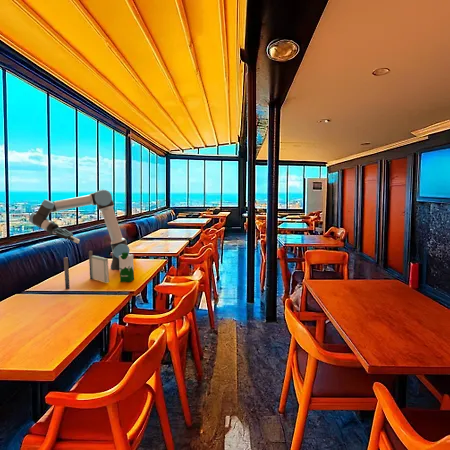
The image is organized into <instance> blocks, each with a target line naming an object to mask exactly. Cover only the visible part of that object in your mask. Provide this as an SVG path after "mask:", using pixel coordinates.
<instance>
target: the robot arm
mask: <svg viewBox="0 0 450 450" xmlns="http://www.w3.org/2000/svg"><path fill="white" fill-rule="evenodd" d="M91 205H92V206H97V209H98V210H99V211H101V213H102V217H103V220H104V223H105V226H106V229H107V232H108V234H109V238H110V240H111V242H110V246H111V251H112V255H111V256H112V260H111V263H110V269H111V270H115V271H117V270H118V271H120V267H119V256H120V255H122V253H123V252H128V254H130V247H129V246H128V242H127V239H126V238H124V237H123V235H122V234H123V233H122V231H121V228H120V226H119V222H118V219H117V216H116V213H115V210H114V206H115V204H114V200H113V196H112V193H111V192H110V191H109V190H107V189H104V188H103V189H99V190H97V191H95V192H91V193H90V194H87V195H81V196H76V197H71V198H65V199H60V200H59V199H58V200H55V201H51V200H48V199H44V200H43V201H42V202H41V204H40V206H39V208H38V210H37V212H33V213H31V214H30V215H29V217H28V222H30V223H31V224H33V225H34V226H36V227H38V228H40V229H42V230H44V231H46V232H47V233H49V234H51V235H52V236H57V237H59V238H61V239H63V240H67V241H69V240H70V241H72V242H74V243H76V244H80V241H81V240H80V239H79V238H78V237H76V236H74V234H73V233H72V232H70V231H69V230H68V229H66V228H62V227H59V224H57V223H56V222H54V221H52V220H50V219H48V218H49V216H50V214H51V213H55V212H59V211H65V210H69V209H74V208H80V207H85V206H91Z"/></svg>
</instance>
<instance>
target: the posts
mask: <svg viewBox="0 0 450 450" xmlns="http://www.w3.org/2000/svg"><path fill="white" fill-rule="evenodd" d="M91 256H93V250H88V264H89V280H93V279H92V272H91ZM63 266H64V267H63V270H64V283H65V284H64V287H65V290H69V289H70V274H69V257H63Z"/></svg>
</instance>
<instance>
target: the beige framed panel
mask: <svg viewBox="0 0 450 450" xmlns="http://www.w3.org/2000/svg"><path fill="white" fill-rule="evenodd" d="M91 272H92V279H91V280H97V281H99V282H102V283H105V284H107V283H109V282H110V276H109V275H110V273H109V259H108V258H107V257H102V256H99V255H93V256H91Z"/></svg>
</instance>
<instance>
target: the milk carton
mask: <svg viewBox="0 0 450 450" xmlns="http://www.w3.org/2000/svg"><path fill="white" fill-rule="evenodd" d="M119 267H120V270H119V280H120V281H119V282H120V283H131V282H132V281H134V280H135V271H134V270H135V267H134V254H132V253H131V254H130V253H129V254H128V252H123V253H122V255H120V256H119Z"/></svg>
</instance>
